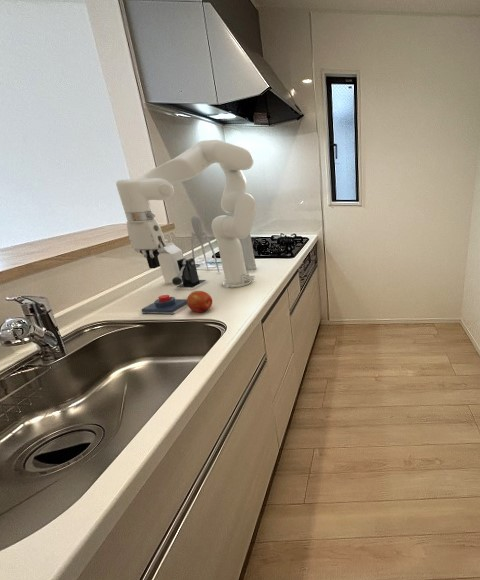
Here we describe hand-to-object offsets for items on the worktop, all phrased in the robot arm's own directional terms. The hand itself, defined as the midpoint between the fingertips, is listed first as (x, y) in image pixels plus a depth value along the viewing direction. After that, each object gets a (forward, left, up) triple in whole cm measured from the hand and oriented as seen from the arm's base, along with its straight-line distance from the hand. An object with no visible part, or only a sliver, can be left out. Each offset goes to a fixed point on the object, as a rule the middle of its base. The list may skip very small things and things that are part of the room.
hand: (155, 267), depth 115 cm
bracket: (+8, -26, -17) cm, 32 cm away
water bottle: (-6, -52, -17) cm, 55 cm away
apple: (-15, +1, -17) cm, 23 cm away
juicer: (+10, -44, -17) cm, 48 cm away
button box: (0, 0, -17) cm, 17 cm away
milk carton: (+18, -30, -17) cm, 39 cm away
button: (0, 0, -13) cm, 13 cm away
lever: (+8, -23, -11) cm, 26 cm away
